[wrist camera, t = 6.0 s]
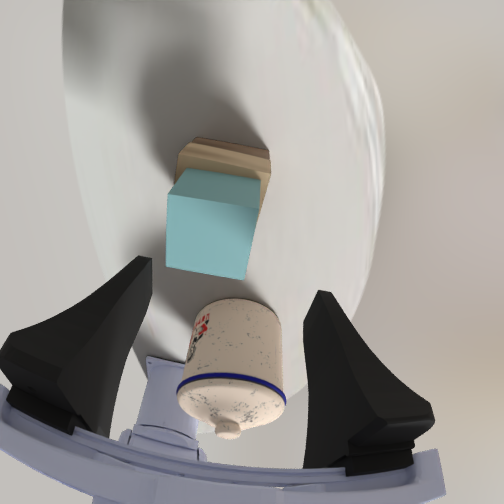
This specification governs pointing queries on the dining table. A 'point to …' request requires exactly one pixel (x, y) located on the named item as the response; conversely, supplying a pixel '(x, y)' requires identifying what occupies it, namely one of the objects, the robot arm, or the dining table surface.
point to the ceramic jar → (234, 367)
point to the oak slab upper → (224, 164)
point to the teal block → (211, 222)
